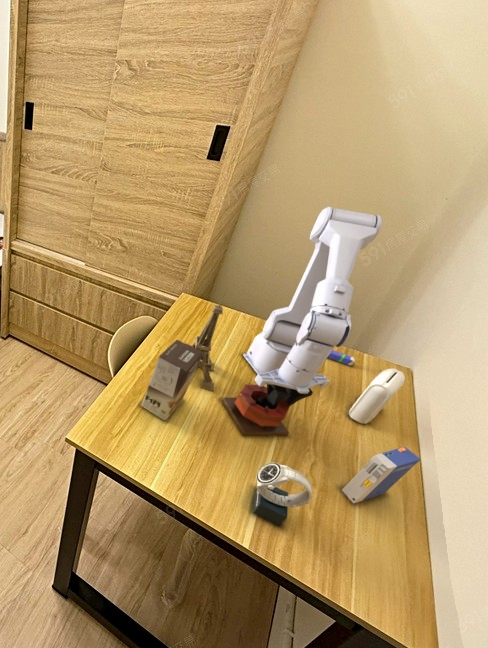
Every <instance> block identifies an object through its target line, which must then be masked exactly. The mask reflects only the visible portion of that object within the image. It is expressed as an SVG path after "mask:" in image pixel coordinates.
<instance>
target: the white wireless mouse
mask: <svg viewBox="0 0 488 648" xmlns="http://www.w3.org/2000/svg"><path fill="white" fill-rule="evenodd" d="M405 381H406V377H405V374H404V373H403V371H402V370H398V368H393V367H392V368H386V369H384V370H382V371H381V372H379V373H378V375H377V376H376V377H374V379H372V381H371V382H370V383H369V385H368V386H367V387H366V388H365V390H364V391H363V392H362V393H361V395H360V396H359V397H358V398H357V399H356V401H355V402H354V404H352V406H351V407H350V409H349V411H348V413H347V414H348V415H349V417H350V418H351V419H352V420H354V421H355V422H357V423H360V424H363V425H366V424H368V423H370V422H371V421H373V419H374V418H375V417H376V416H377V415H378V414H379V413H380V412H381V410H382V409H383V408H384V407H385V406H386V405H387V403H388V402H389V401H390V400H391V399H392V398H393V397H394V396H395V395H396V393H398V391H399V390H400V389H401V387H402V386H403V385H404V383H405Z"/></svg>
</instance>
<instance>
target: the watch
mask: <svg viewBox="0 0 488 648" xmlns="http://www.w3.org/2000/svg"><path fill="white" fill-rule="evenodd" d="M256 481H257V483H256V488H255V491H254V501H253V502H254V503H253V511H252V512H253V514H254V515H256V516H259V517H260V518H263V519H265V520H266V521H268V522H271V523H272V524H275V525H277V526H279V527H281V526H282V524H283V523H284V522H285V521H286V520H287V519H288V512H289V511H288V508H289V509H291V508H298V507H302V506H305V505H308V504H310V501H311V500H312V498H313V495H312V484H311V481H309V479H308V478H307V477H306V476H305V475H304V474H303V473H301V472H300V471H298V470H296V469H294V468H291V467H290V466H288V465H284V464H279V463H278V462H275V461H271V462H268V463H266V464H264V465H263V466H261V467H260V468H259V470H258V471H257V473H256ZM289 481H293V482H295V483H297V484H299V486H301V487H303V488H304V489H305V490H302V491H301V492H298V493H292V494H289V492H288V491H286V490H284V489H281V488H279V486H281V485H282V484H284V483H288V482H289Z"/></svg>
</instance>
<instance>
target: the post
mask: <svg viewBox="0 0 488 648" xmlns="http://www.w3.org/2000/svg"><path fill="white" fill-rule="evenodd" d="M236 399H237V397H222V399H221V403H222V404H223V406H224V408H225V409H226V411H227V412H228V414H229V416H230V418H231V419H232V421H233V422H234V424H235V426H236V427H237V428H238V430H239V431H240V433H241V435H242V436H244V437H245V436H246V437H247V436H249V437H251V436H253V437H254V436H255V437H259V436H260V437H264V436H265V437H267V436H268V437H287V436H288V435H289V433H290V432H289V431H288V429H287V428H286V426H285V425H284V424H283V421H282V422H281V424H280V425H279V426H260V425H258V424H257V423H255V422H253V421H251V420H249V419H247V418H246V417H244V416H243V415H242V414H241V412H240V411H239V409H238V407H237V406H236V404H235V401H236ZM254 402H255V403H256V404H258V405H260V406H262V407H264V408H265V409H269V408H268V407H267V406H266V405H267V404H268V401H267V400H266V399H265V398H263V397H259V398H258V399H257V401H254Z"/></svg>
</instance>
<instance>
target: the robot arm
mask: <svg viewBox="0 0 488 648" xmlns="http://www.w3.org/2000/svg"><path fill="white" fill-rule="evenodd" d="M382 226H383V219H382V216H381V214H370V213H364V212H358V211H353V210H347V209H341V208H335V207H332V206H326V207H325V208H323V209H322V210H321V212H320V213H319V214H318V216H317V218H316V220H315V223H314V225H313V227H312V229H311V232H310V233H309V234H310V235H309V238H308V239H309V240H310V241H311V242H312V243H314V244H315V245H314V250H313V253H312V255H311V258H310V260H309V262H308V263H307V266H306V268H305V271H304V273H303V275H302V277H301V279H300V281H299V284H298V286H297V288H296V290H295V293H294V294H293V297H292V299H291V301H290V303H289V305H288V306H286V307H281V308H276V309H274V310H273V311H272V312H271V313H270V315H269V317H268V318H267V320H265V323H264V326H263V328H262V332H260V333H258V334H257V335H256V336H255V337H254V339H253V341H252V342H251V345H250V347H249V348H248V350H247V352H246V353H243V354H242V355H243V357H244V358H245V360H246V361H247V362H248V364H249V365H250V367H252V369H253V371H254V372H256V374H257V375H256V376H255V378H254V382H255V383H256V385H259V386H260V387H263V386H265V385H266V387H267V397H266V400H267V401H268V404H267V406H268V407H269V408H270V409H274V408H276V406H277V405H278V404H279V403H280V401H282V400H283V399H284V400H285V402H286V403H287V404H288V405H289V407H291V406H293V405H294V404H295V403H297V402H299V401H301V400H303V399H305V398H308V397H309V398H310V397H311V396H313V390H312V389H311V388H314V387H317V386H319V387H320V388H326V387H327V386H328V384H329V383H330V380H329V378H327V376H325V375H324V374H323V373H322V374H321V373H318V372H319V371H320V369H321V367H322V366H323V365H324V363H325V362H326V360H327V359H328V358H327V357H328V356H329V354H330V353H331V351H332V350H334V348H335V347H336V348H342V347H343V346H344V344H345V343H346V342H347V341H348V339H349V336H350V333H351V329H352V320H351V317H352V315H351V314H349V311H350V307H351V302H352V298H353V295H354V291H355V289H354V286H353V285H352V283H350V282H349V280H350V278H351V275H352V272H353V269H354V267H355V264H356V261H357V260H358V256H359V253H360V251H361V250H364V249H366V248H367V247H368V246H369V244H370V243H372V242H373V241H374V240H375V239H376V238H377V236H378V235H379V233H380V231H381V229H382Z"/></svg>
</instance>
